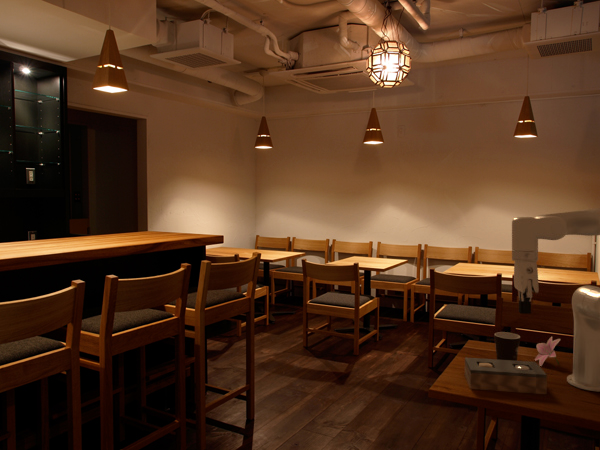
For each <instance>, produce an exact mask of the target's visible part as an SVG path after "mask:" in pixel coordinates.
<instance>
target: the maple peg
mask: <svg viewBox="0 0 600 450" xmlns="http://www.w3.org/2000/svg"><path fill="white" fill-rule="evenodd" d="M479 367H491V368H492V365H491V364H489V363H479Z"/></svg>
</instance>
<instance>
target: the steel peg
mask: <svg viewBox="0 0 600 450" xmlns="http://www.w3.org/2000/svg"><path fill="white" fill-rule="evenodd" d="M515 369H522V370H529V367H527V366H524V365H516V366H515Z"/></svg>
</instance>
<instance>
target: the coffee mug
mask: <svg viewBox="0 0 600 450" xmlns="http://www.w3.org/2000/svg"><path fill="white" fill-rule="evenodd" d="M520 341H521V336H520V335H519V334H517V333H513V332H508V331H507V332H505V331H500V332H498V331H497V332H495V333H494V343H495V344H494V345H495V355H496V359H497V360H514V361H518V355H519V354H518V353H519V348H520Z"/></svg>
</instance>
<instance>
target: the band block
mask: <svg viewBox="0 0 600 450" xmlns="http://www.w3.org/2000/svg"><path fill="white" fill-rule="evenodd" d="M479 363H489V364H491V365H492V368H491V367H479ZM516 365H524V366H527V367H529V370H522V369H515V366H516ZM464 377H465V380H466V382H467V385H468V386H469V389H470V390H482V391H494V392H495V391H496V392H510V393H511V392H512V393H525V394H537V395H547V388H548V387H547V386H548V382H547V381H548V374H547V373H546V372H545V371H544V369H543V368H542V367H540V365H539V363H537V362H536V361H527V360H526V361H525V360H517V361H514V360H497V358H494V359H493V358H481V357H480V358H478V357H464Z"/></svg>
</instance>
